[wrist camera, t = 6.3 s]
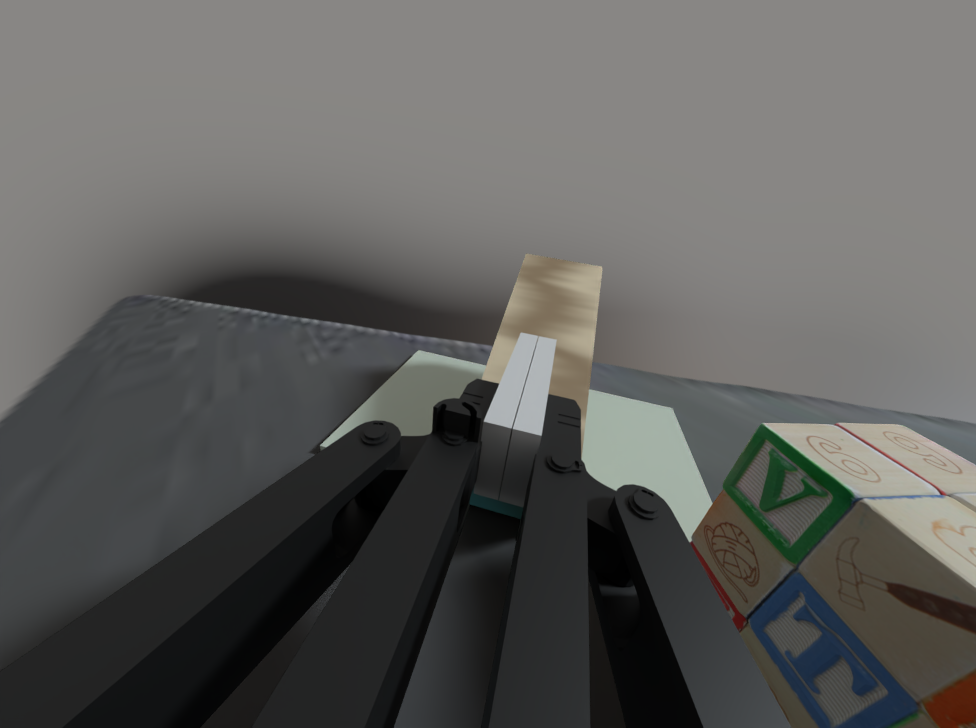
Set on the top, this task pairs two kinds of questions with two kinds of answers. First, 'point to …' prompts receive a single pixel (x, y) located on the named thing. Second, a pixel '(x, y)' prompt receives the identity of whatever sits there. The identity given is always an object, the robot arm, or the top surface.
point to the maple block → (550, 334)
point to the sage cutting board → (607, 438)
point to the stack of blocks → (851, 573)
